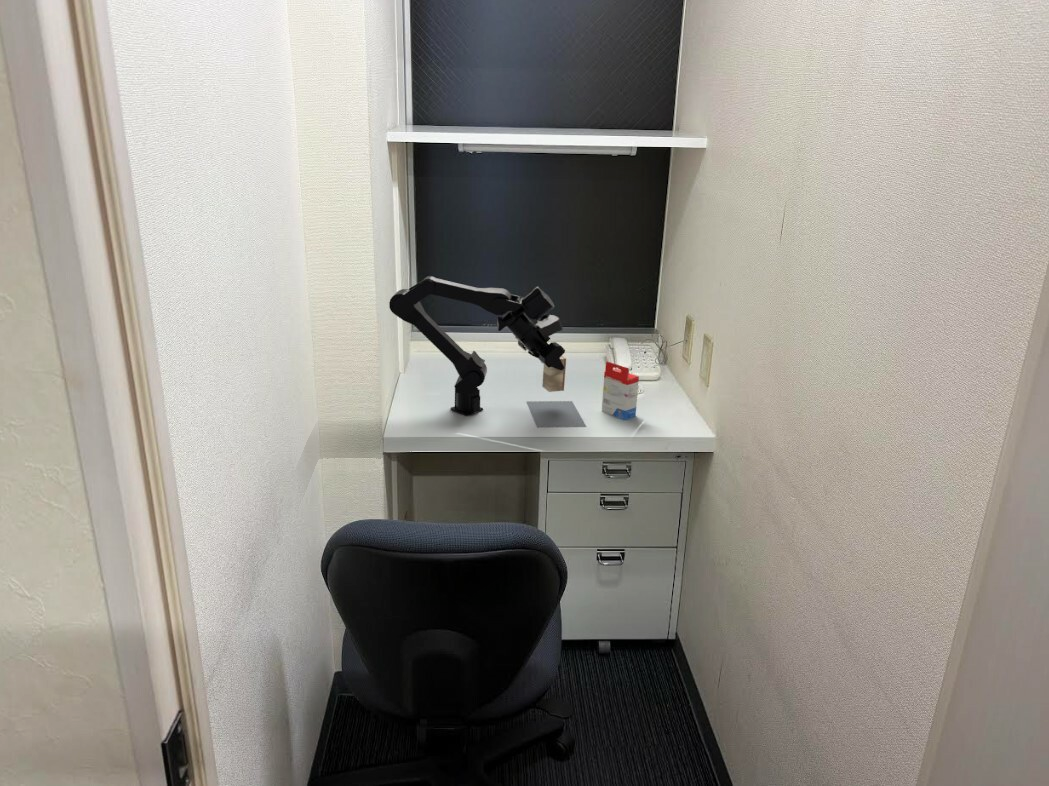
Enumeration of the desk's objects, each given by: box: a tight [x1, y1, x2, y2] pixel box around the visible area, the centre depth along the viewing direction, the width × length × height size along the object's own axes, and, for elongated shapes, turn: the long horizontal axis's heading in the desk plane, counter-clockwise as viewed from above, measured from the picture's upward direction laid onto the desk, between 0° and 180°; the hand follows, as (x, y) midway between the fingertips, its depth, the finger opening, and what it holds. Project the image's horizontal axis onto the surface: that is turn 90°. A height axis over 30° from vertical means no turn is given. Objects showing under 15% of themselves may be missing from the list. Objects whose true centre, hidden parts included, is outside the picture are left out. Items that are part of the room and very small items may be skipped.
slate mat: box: [526, 400, 587, 429], centre depth 212 cm, size 19×13×1 cm
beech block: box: [541, 355, 567, 393], centre depth 212 cm, size 4×4×9 cm
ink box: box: [601, 361, 640, 421], centre depth 212 cm, size 8×5×15 cm, turn 43°
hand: (559, 366), depth 212 cm, fingers closed on beech block, 4 cm apart
